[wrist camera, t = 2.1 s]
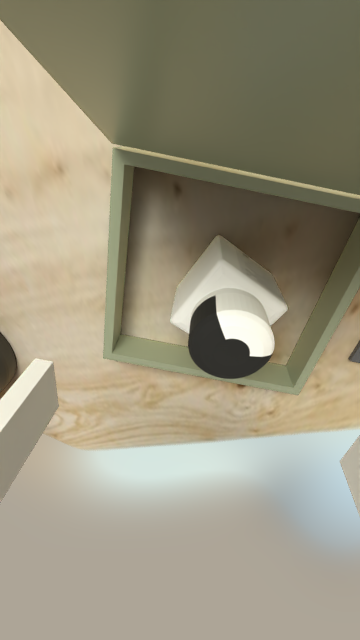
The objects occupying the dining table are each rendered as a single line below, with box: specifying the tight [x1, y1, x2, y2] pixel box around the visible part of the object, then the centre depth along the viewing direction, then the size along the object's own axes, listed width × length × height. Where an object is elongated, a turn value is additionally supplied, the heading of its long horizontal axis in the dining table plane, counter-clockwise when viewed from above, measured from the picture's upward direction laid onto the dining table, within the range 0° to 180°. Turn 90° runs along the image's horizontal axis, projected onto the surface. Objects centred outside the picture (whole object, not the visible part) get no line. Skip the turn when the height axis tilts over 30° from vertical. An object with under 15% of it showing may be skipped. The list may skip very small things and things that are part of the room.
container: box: [170, 235, 288, 379], centre depth 27 cm, size 8×8×13 cm
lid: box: [0, 0, 360, 195], centre depth 12 cm, size 23×24×2 cm
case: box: [103, 146, 360, 395], centre depth 25 cm, size 25×25×15 cm
